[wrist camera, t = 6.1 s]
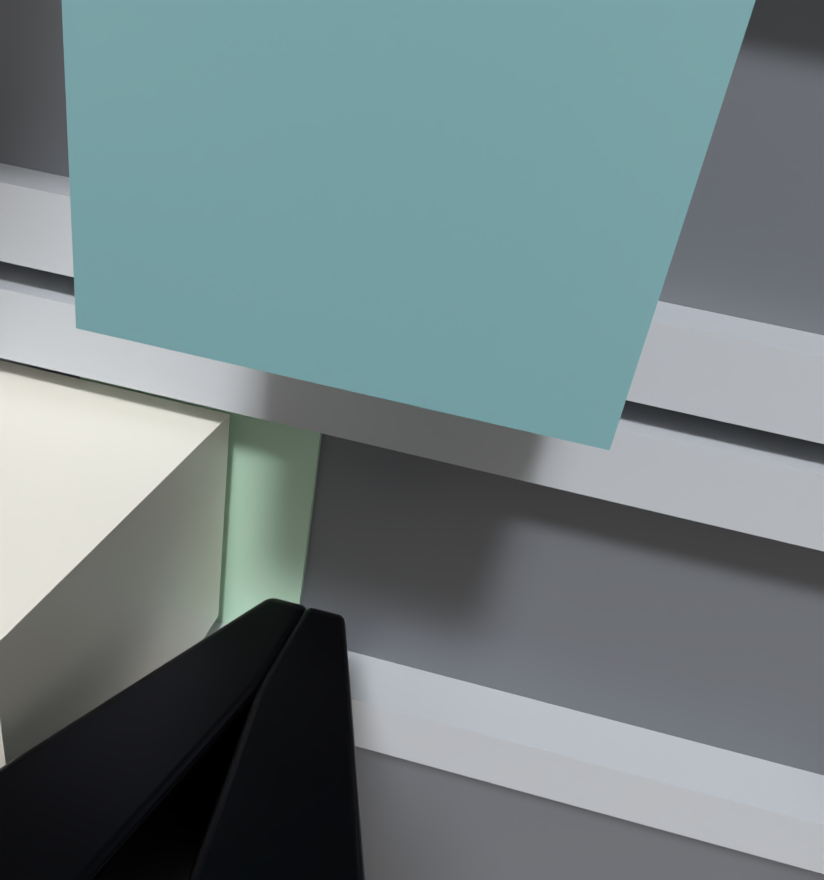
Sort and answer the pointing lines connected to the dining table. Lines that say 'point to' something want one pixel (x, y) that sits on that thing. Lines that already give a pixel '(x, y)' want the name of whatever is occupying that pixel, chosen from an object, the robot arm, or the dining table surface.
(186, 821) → the robot arm
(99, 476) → the fader cap
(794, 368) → the console board
